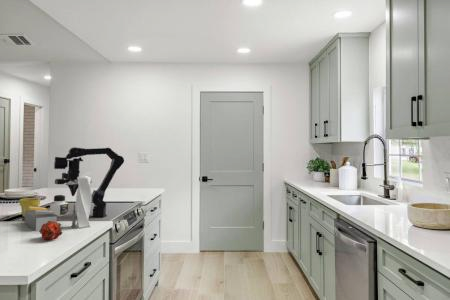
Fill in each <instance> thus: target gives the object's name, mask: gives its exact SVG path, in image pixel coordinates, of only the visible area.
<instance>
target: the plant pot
mask: <svg viewBox="0 0 450 300" xmlns="http://www.w3.org/2000/svg"><path fill="white" fill-rule="evenodd" d="M40 204H41V199H40V198H37V197H36V198H35V197H34V198H33V197H31V198H21V199H19V206H20V208H21V212H22V213H21V215H22V217H24V218H25V211H32V209H29V208H28V207H29V206H31V207H39V206H40Z"/></svg>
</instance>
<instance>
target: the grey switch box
mask: <svg viewBox="0 0 450 300" xmlns="http://www.w3.org/2000/svg"><path fill="white" fill-rule="evenodd" d="M42 211H43V210H42ZM47 211H49V210H48V209H47ZM48 221H51V222H52V221H56V222H57V223H58V216H57V215H56V214H39V213H35V210H32V211H25V217H24V224H25V225H26V226H28V227H29V228H30V229H32V230H33V231H34V232H40V230H41V227H42V225H43V224H46V223H47V222H48Z"/></svg>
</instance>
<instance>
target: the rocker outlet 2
mask: <svg viewBox="0 0 450 300" xmlns="http://www.w3.org/2000/svg"><path fill="white" fill-rule="evenodd" d="M35 213H39V214H54V213H55V212H53V211H50V210H48V211H42V210H35Z"/></svg>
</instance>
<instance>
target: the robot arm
mask: <svg viewBox="0 0 450 300" xmlns="http://www.w3.org/2000/svg"><path fill="white" fill-rule="evenodd" d="M91 155H92V156H93V155H106V156H107V157H108V158H110V159H111V162H110V166H109V169H108V171H107V172H106V174H105V176H104V177H103V180H102V181H101V183H100V185H99V187H98V188H97V189H96V190H95V189H93V191H92V192H91V196H92V201H91V203H93V205H94V206H93V208H92V216H91V218H104V217H107V216H108V214H106V211H107V203H106V202H105V201H104V197H105V194H106V190H107V189H108V187H109V185H110V183H111V182H112V179H113V177H114V176H115V173H116V172H117V170H119V169H120V168H121V166H122V165H123V164H124V163H125V159H124V157H123V156H121V155H119V154H118V153H116V152H115V151H114V150H112V148H110V147H103V148H101V147H99V148H81V147H75V146H74V147H71V148H70V149H69V150H68V154H66V155H65V157H59V156H55V157H54V163H53V169H54V170H66V168H68V170H67V173H66V172H62V173H61V178H55V180H54V184H55V185H66V186H68V189H69V192H70V194H71V196H72V197H75V195H76V194H77V190H78V187H79V185H78V179H77V177H79V176H80V174H81V171H80V162H84V159H83V158H82V157H84V156H91ZM79 178H80V177H79Z"/></svg>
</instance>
